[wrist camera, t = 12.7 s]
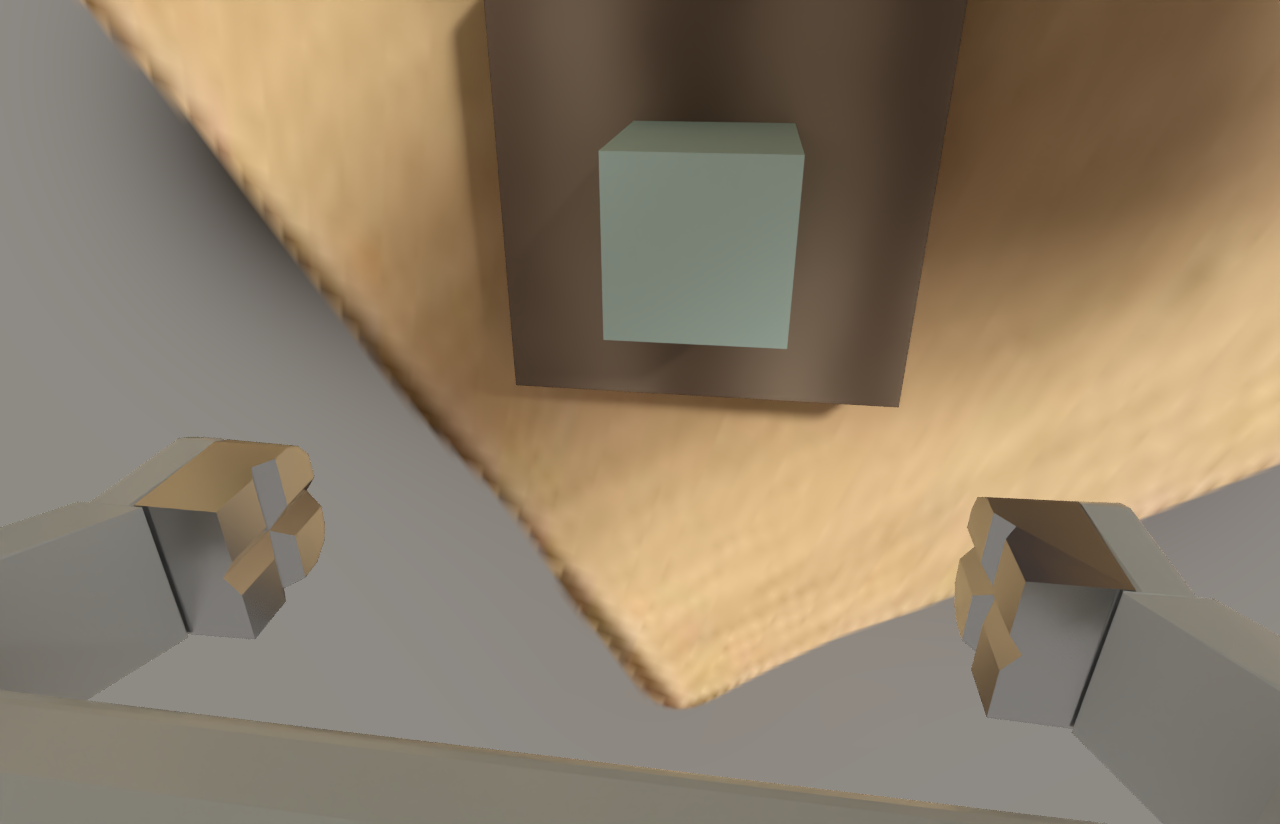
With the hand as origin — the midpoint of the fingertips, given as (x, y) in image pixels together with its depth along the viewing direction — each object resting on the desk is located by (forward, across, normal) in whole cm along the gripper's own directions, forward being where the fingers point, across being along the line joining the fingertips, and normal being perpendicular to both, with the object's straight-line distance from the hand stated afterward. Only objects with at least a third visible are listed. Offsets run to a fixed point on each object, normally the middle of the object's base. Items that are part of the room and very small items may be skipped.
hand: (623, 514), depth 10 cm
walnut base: (+21, 0, 0) cm, 21 cm away
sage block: (+18, 0, 0) cm, 18 cm away
